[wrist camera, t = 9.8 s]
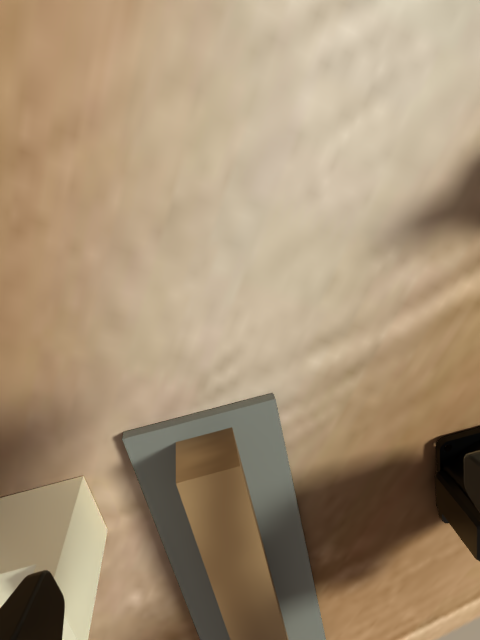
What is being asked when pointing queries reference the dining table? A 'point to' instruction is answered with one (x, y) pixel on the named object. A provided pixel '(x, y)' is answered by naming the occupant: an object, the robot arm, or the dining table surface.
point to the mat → (268, 502)
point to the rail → (228, 535)
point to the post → (55, 546)
